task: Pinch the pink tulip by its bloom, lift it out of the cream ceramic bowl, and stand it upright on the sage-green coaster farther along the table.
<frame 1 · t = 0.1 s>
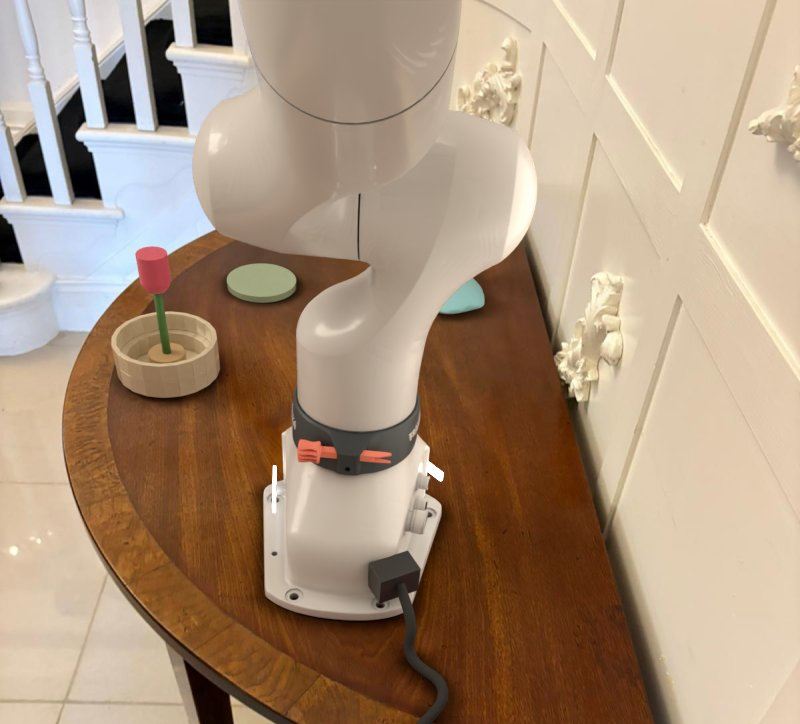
coaster: (262, 285, 115), on the table
bowl: (170, 372, 98), on the table
tulip: (169, 368, 97), point 1 cm above the table, touching bowl
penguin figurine: (439, 287, 119), on the table
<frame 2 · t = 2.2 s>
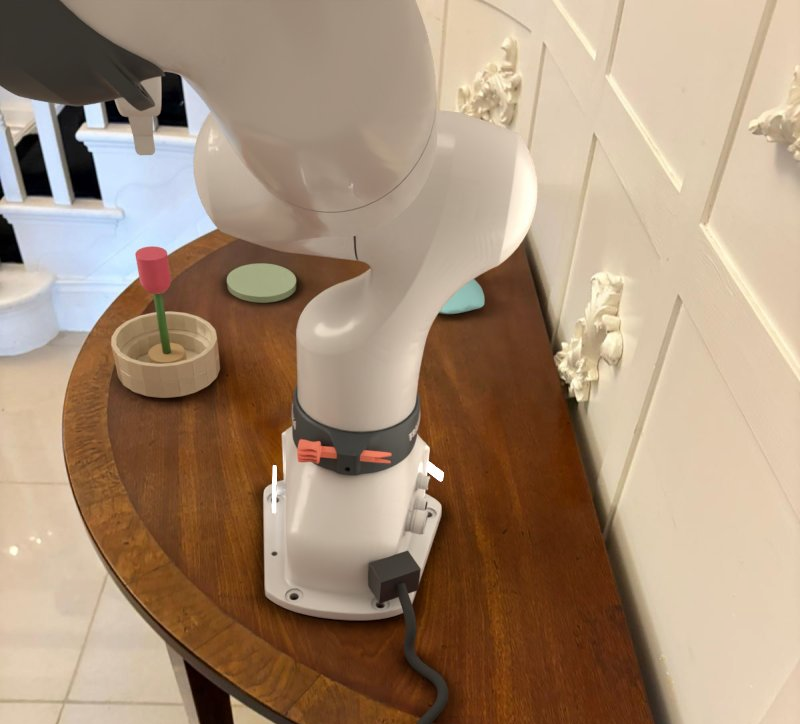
hand: (142, 134, 78), 28 cm above the table, tool pointing down, fingers open, 8 cm apart
nothing on the table moved.
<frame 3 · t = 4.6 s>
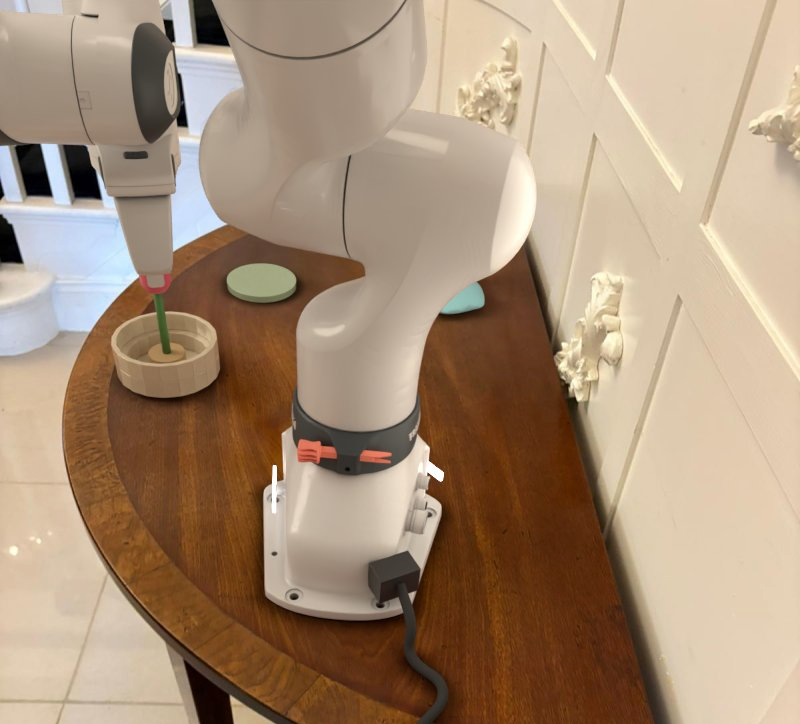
hand: (154, 274, 89), 13 cm above the table, tool pointing down, fingers closed on tulip, 3 cm apart
tulip: (169, 368, 97), point 1 cm above the table, touching bowl, gripper
everything else where it was.
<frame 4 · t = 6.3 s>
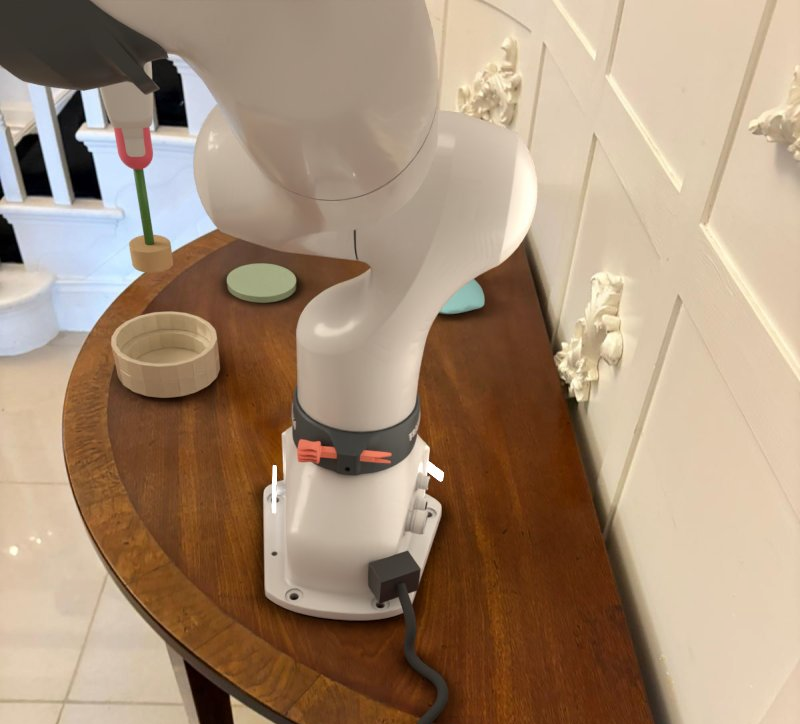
hand: (134, 145, 79), 27 cm above the table, tool pointing down, fingers closed on tulip, 3 cm apart
tulip: (152, 263, 88), point 14 cm above the table, touching gripper
everything else where it was.
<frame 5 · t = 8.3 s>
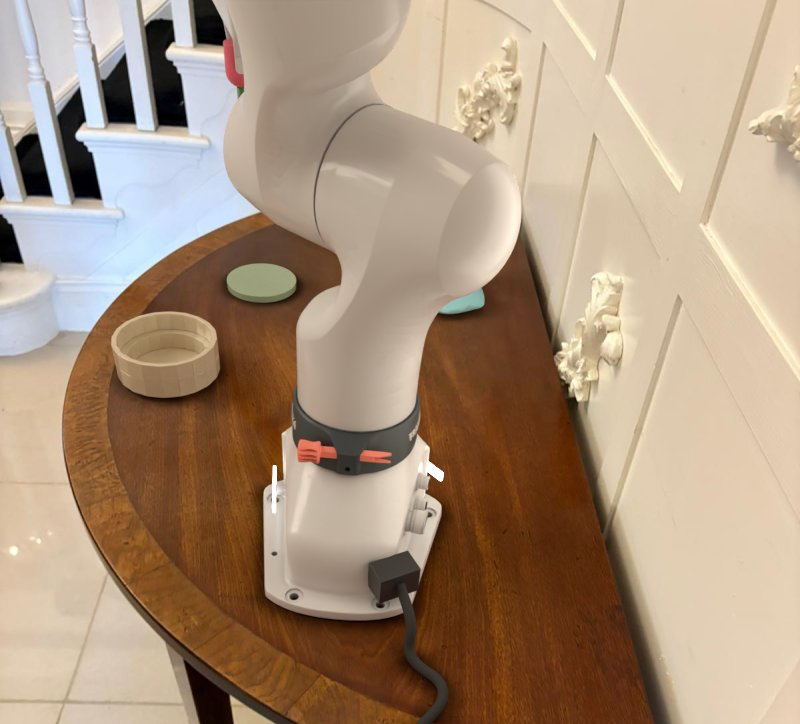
hand: (240, 66, 93), 29 cm above the table, tool pointing down, fingers closed on tulip, 3 cm apart
tulip: (247, 174, 102), point 16 cm above the table, touching gripper
everything else where it was.
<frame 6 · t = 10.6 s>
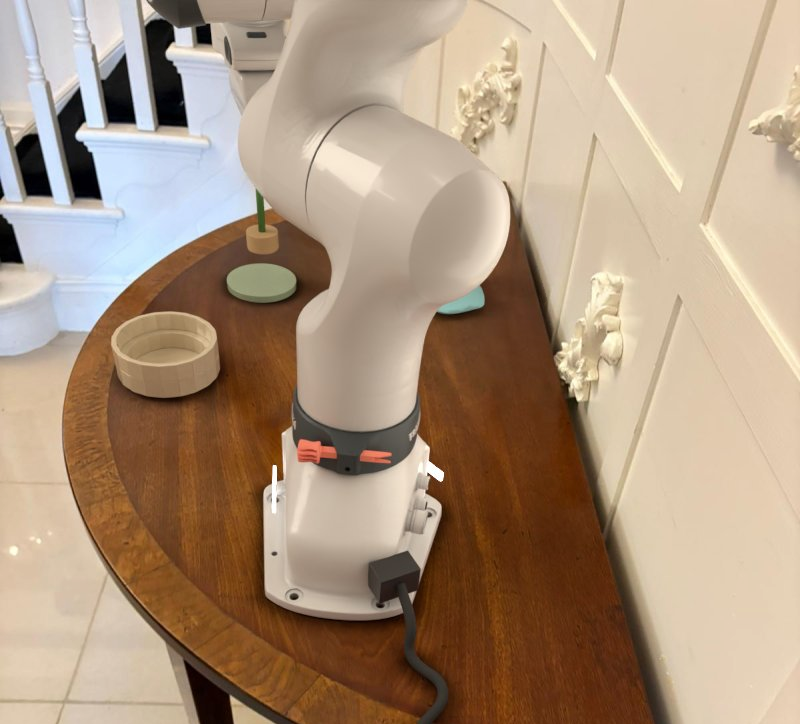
hand: (257, 155, 102), 18 cm above the table, tool pointing down, fingers closed on tulip, 3 cm apart
tulip: (263, 247, 111), point 6 cm above the table, touching gripper
everything else where it was.
when the fingers open (13 cm above the table, at t = 12.1 s): tulip stays where it is, resting on coaster.
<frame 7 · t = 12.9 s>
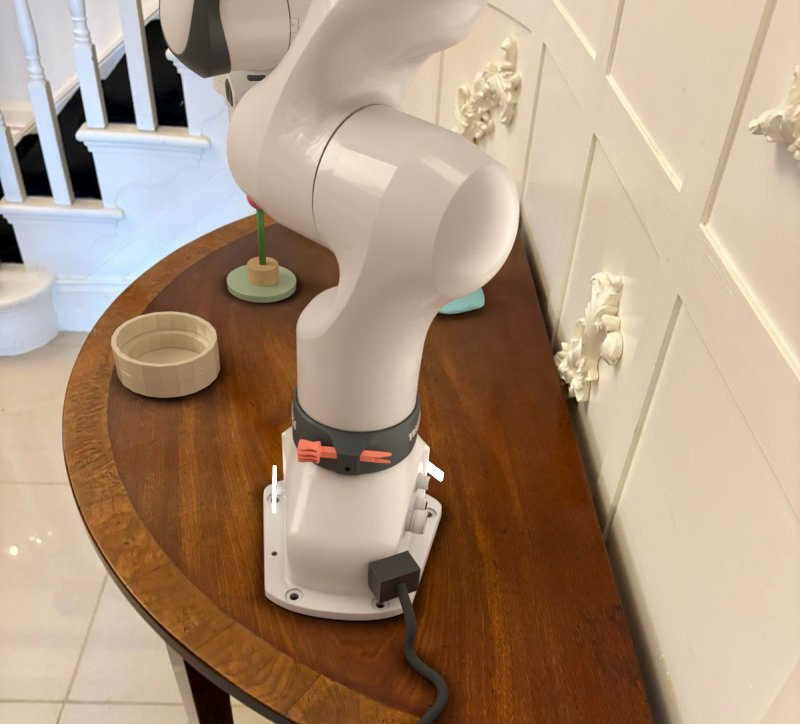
hand: (255, 189, 105), 14 cm above the table, tool pointing down, fingers open, 8 cm apart
tulip: (263, 279, 114), point 1 cm above the table, touching coaster
everything else where it was.
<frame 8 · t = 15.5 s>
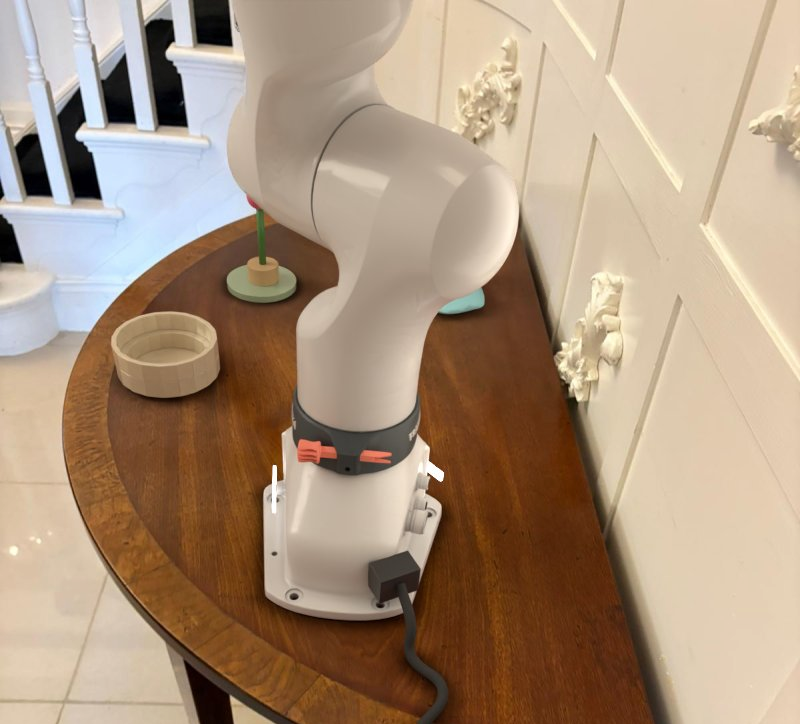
hand: (248, 41, 93), 31 cm above the table, tool pointing down, fingers open, 8 cm apart
nothing on the table moved.
at the end: tulip 0.3 cm off-centre on the coaster, point 1.0 cm above the coaster's base; tulip tilted 0°; the gripper is holding nothing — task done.
